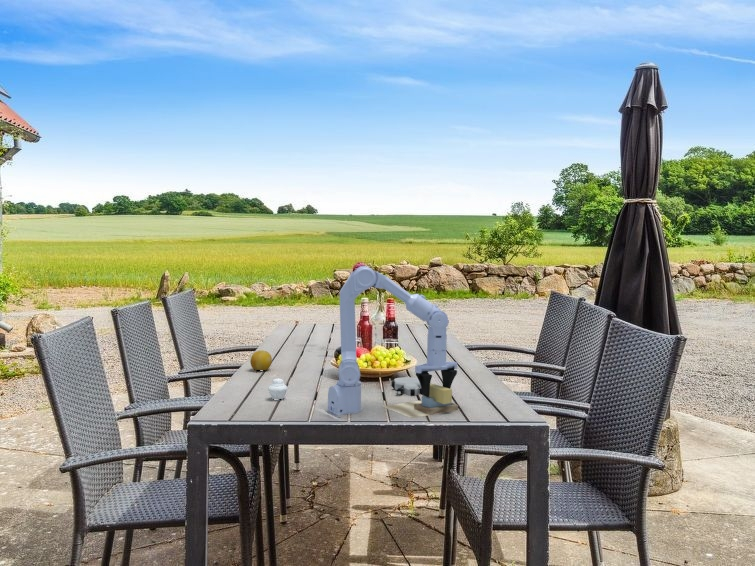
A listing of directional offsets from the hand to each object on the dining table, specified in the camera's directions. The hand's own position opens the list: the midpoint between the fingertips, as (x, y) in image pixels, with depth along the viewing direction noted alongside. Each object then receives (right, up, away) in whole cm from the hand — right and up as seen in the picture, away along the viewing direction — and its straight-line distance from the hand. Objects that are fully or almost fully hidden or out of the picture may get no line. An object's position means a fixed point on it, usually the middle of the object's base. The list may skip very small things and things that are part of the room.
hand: (436, 394), depth 189 cm
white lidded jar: (-50, -4, +15) cm, 52 cm away
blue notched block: (0, -5, 0) cm, 5 cm away
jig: (-5, -5, +2) cm, 7 cm away
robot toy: (-7, -5, +25) cm, 26 cm away
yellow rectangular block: (0, -2, 0) cm, 2 cm away
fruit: (-64, -2, +63) cm, 90 cm away
